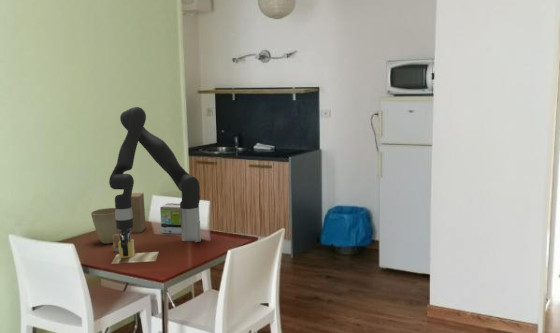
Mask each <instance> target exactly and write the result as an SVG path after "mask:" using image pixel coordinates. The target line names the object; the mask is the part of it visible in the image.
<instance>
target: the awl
mask: <svg viewBox="0 0 560 333" xmlns="http://www.w3.org/2000/svg"><path fill="white" fill-rule="evenodd" d="M119 241H120V233H119V234H113V243H112V244H113V245H112V246H113V252H115V253H117V252H118V253H119V246H118V243H119Z"/></svg>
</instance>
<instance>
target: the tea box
mask: <svg viewBox="0 0 560 333" xmlns="http://www.w3.org/2000/svg"><path fill="white" fill-rule="evenodd" d="M159 208H160V223H161V224H160V227H161V234H173V235H175V234H176V235H182V229H181V212H180V203H176V202H175V203H174V202H170V203H169V202H167V203H166V204H164V205H162V206H160V207H159Z"/></svg>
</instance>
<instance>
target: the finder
mask: <svg viewBox="0 0 560 333" xmlns="http://www.w3.org/2000/svg"><path fill="white" fill-rule="evenodd" d="M134 241H135V240H134V239H133V238H131V239H130V240H129V242H128V256H123V248H121V241H119V243H118V246H119V251H118V254H119V258H127V257H133V256H134V254H135V253H136V252H135V242H134ZM123 245H125V243H123Z"/></svg>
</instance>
